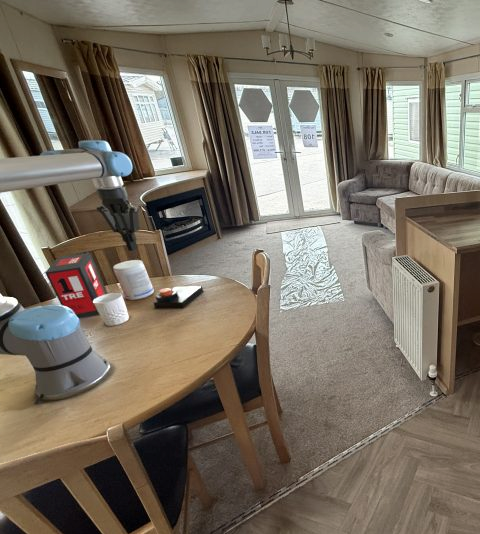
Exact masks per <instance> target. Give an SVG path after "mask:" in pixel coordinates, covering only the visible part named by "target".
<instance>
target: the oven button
mask: <svg viewBox="0 0 480 534" xmlns="http://www.w3.org/2000/svg"><path fill="white" fill-rule="evenodd" d="M171 289H172V288H171V287H165V288H162V289H160V290H159V291H158V293H160V296H161V297H164V296H169V295H171V294H173V293H172V290H171Z"/></svg>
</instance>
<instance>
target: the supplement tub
mask: <svg viewBox="0 0 480 534" xmlns="http://www.w3.org/2000/svg"><path fill="white" fill-rule="evenodd" d="M112 269H113V273H114V274H115V277H116V279H117V281H118V283H119V286H120V288H121V290H122V293H123V295H124V297H125V298H126V299H127V300H130V301H135V300H137V301H138V300H141V299H145V298H147V297H149V296H151V295H153V293H154V291H155V290H154V286H153V284H152V282H151V279H150V276H149V274H148V272H147V269H146V266H145V265H144V262H143V261H142V260H140V259H130V260H126V261H122V262H119V263H117V264H114V265H113V268H112Z"/></svg>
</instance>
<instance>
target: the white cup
mask: <svg viewBox="0 0 480 534" xmlns="http://www.w3.org/2000/svg"><path fill="white" fill-rule="evenodd" d="M93 303H94V305H95V307H96V309H97V311H98V312H99V316H100V318H101V319H102V321H103V323H104V325H106V326H110V327H112V326H113V327H114V326H118V325H121V324H124V323H126V322H128V320H129V319H130V316H129V312H128V308H127V305H126V302H125V300H124V297H123V294H122V293H121V292H111V293H108V294H105V295H102V296H100V297H97V298H96V299H94V300H93Z"/></svg>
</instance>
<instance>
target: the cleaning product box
mask: <svg viewBox="0 0 480 534" xmlns="http://www.w3.org/2000/svg"><path fill="white" fill-rule="evenodd" d="M44 274H45V275H46V277H47V279H48V281H49V284H50V286H51V287H52V289H53V291H54V293H55V295H56V298H57V299H58V301H59V303H60V305H62V306H66V307H68V308H70V309H71V310H73V312H74V313H75V315H76V316H77V317H78V318H79V319H83V318H88V317H93V316H94V317H95V316H98V315H99V316H100V314H99V312H98V311H97V309H96V307H95V305H94V303H93V300H94V299H96V298H97V297H100V296H102V295H105V294H109V293H108V290H107V288H106V286H105V283H104V282H103V279H102V276H101V274H100V272H99V270H98V267H97V265H96V263H95V260H94V258H93V256H92V253H91V252H86V253H85V252H84V253H78V254H69V255H62V256H58V257H57V259H55V261H54V262H53V263H52V264H51V265H50V266H49V267H48V269H47V270H46V271H45V272H44Z"/></svg>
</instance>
